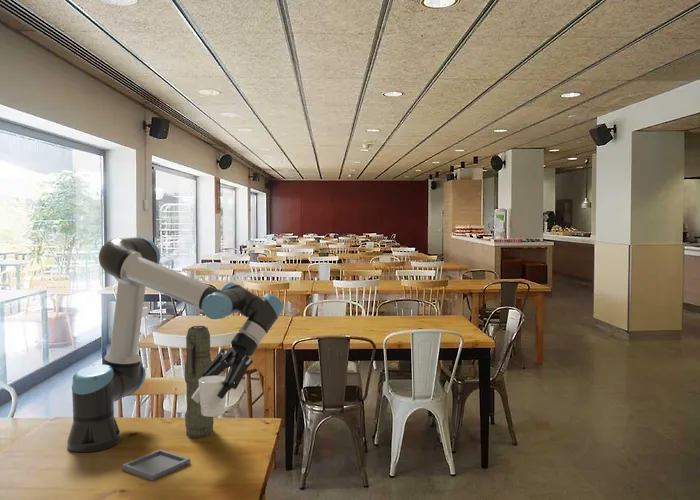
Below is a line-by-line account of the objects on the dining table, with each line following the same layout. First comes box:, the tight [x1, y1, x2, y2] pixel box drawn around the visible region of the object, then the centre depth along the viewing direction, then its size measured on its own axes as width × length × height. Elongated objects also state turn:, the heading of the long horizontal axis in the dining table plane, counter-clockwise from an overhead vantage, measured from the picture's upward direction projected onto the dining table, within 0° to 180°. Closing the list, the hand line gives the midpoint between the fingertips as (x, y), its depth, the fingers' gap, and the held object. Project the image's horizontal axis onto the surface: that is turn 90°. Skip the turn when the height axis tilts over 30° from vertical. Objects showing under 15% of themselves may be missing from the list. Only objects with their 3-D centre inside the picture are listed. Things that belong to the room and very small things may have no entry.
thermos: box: [184, 325, 214, 438], centre depth 185 cm, size 9×12×35 cm
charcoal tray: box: [121, 448, 192, 482], centre depth 159 cm, size 13×13×2 cm
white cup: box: [199, 375, 227, 418], centre depth 163 cm, size 8×8×10 cm
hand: (202, 403), depth 161 cm, fingers closed on white cup, 8 cm apart
